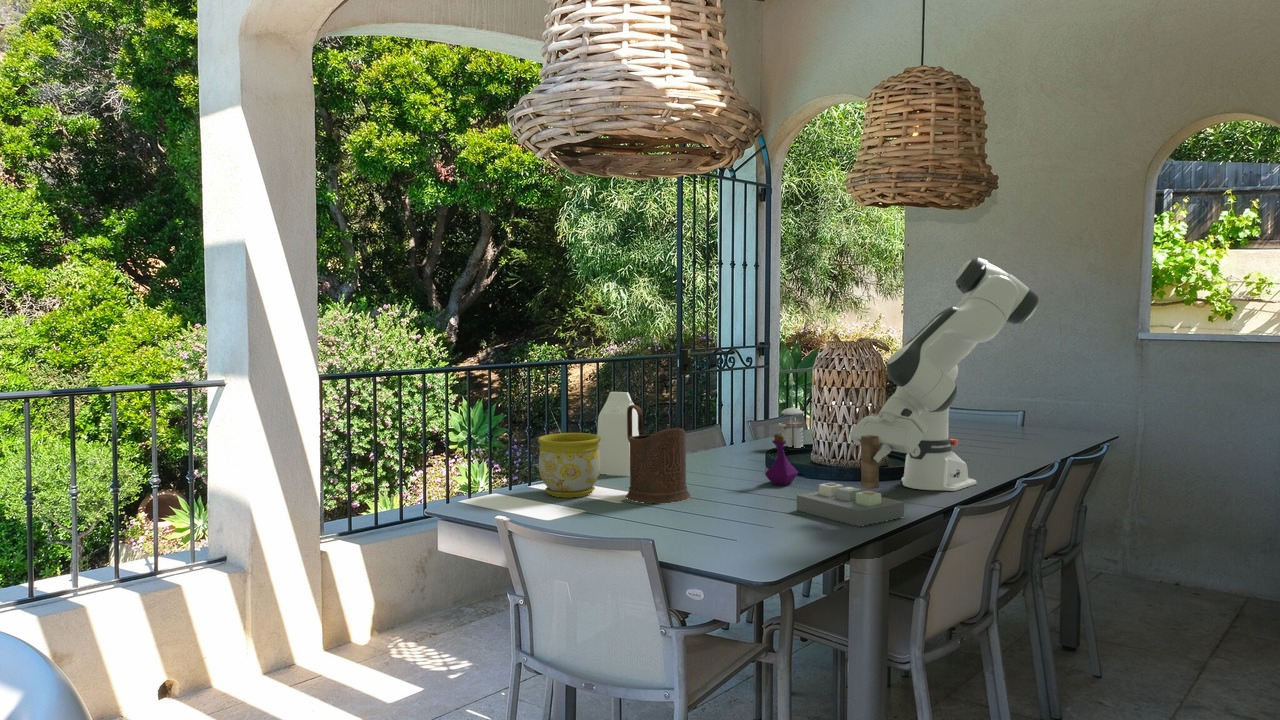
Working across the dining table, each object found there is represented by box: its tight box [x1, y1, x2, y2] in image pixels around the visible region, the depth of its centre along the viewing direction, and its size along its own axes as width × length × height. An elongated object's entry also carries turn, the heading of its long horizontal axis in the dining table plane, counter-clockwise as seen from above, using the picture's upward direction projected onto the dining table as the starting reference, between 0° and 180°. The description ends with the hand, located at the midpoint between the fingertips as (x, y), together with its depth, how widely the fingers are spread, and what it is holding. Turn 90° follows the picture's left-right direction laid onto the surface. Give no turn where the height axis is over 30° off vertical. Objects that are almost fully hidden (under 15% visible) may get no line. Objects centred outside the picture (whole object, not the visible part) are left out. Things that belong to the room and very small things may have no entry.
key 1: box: [818, 482, 844, 497], centre depth 242 cm, size 4×4×4 cm
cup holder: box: [625, 404, 691, 504], centre depth 262 cm, size 18×24×25 cm
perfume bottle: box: [764, 423, 799, 486], centre depth 275 cm, size 8×8×18 cm
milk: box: [596, 391, 639, 477], centre depth 297 cm, size 12×12×26 cm
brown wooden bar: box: [860, 435, 880, 490], centre depth 230 cm, size 3×3×13 cm
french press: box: [780, 381, 804, 448], centre depth 337 cm, size 10×12×25 cm
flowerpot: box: [537, 432, 601, 499], centre depth 265 cm, size 18×18×16 cm
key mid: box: [837, 486, 863, 502], centre depth 237 cm, size 4×4×4 cm
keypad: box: [796, 490, 905, 527], centre depth 237 cm, size 16×22×4 cm
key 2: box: [856, 490, 882, 506], centre depth 231 cm, size 4×4×4 cm
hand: (868, 459), depth 230 cm, fingers closed on brown wooden bar, 3 cm apart
